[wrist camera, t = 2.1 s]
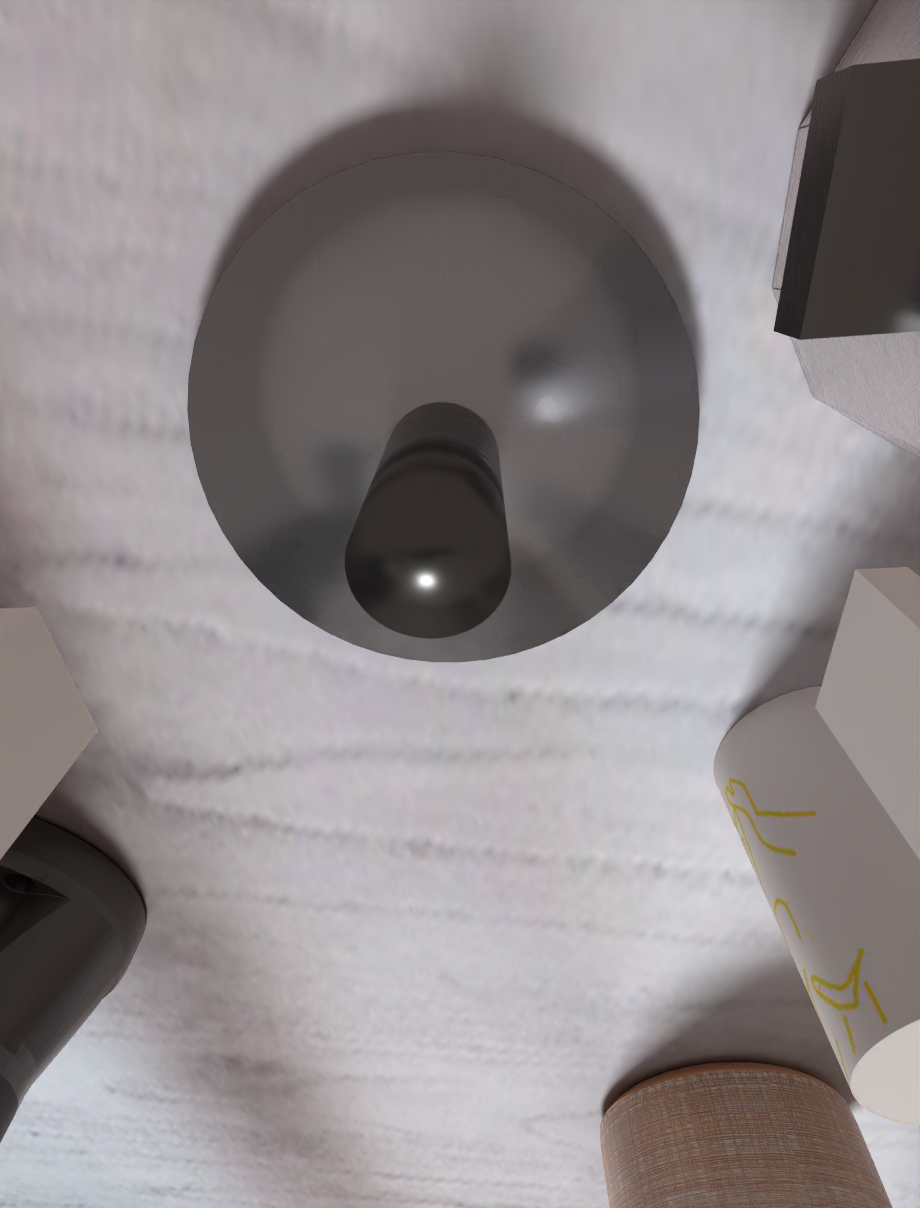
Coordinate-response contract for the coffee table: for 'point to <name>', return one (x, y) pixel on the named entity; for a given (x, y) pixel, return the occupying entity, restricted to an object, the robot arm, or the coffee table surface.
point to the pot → (860, 231)
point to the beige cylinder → (833, 891)
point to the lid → (443, 406)
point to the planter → (736, 1142)
